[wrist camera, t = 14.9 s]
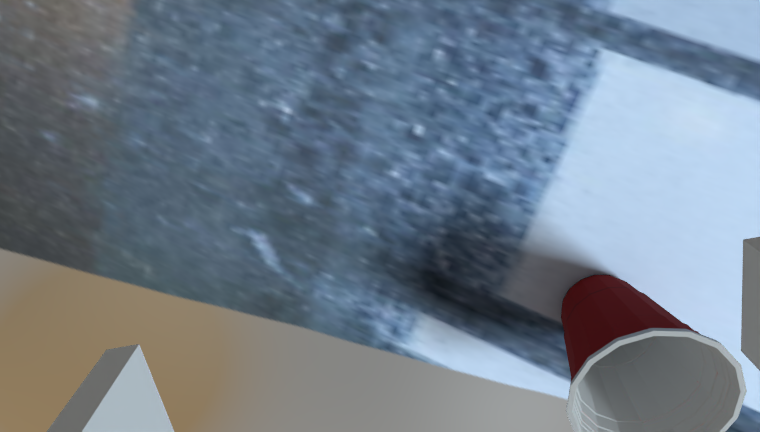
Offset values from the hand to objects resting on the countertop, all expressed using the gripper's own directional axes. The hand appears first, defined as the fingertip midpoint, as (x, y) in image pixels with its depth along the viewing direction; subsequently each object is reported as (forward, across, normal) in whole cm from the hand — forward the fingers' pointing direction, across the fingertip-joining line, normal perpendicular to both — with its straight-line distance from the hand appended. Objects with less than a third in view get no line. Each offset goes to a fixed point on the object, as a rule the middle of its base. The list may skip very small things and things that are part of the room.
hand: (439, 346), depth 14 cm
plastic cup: (+32, +12, -20) cm, 39 cm away
